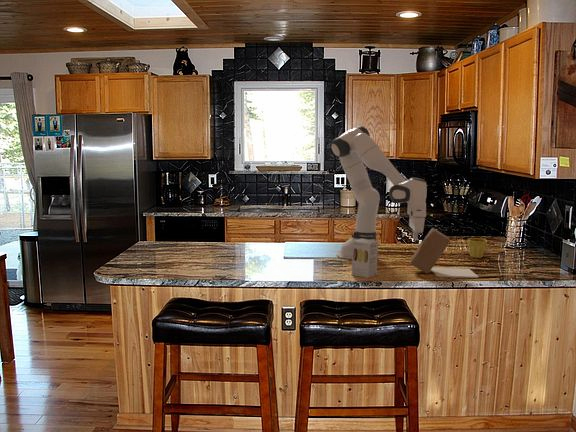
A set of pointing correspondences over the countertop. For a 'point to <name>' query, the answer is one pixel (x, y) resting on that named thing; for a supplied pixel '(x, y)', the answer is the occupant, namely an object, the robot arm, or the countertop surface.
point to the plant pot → (477, 247)
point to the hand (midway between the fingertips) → (415, 238)
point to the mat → (453, 272)
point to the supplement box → (364, 258)
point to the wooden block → (430, 250)
